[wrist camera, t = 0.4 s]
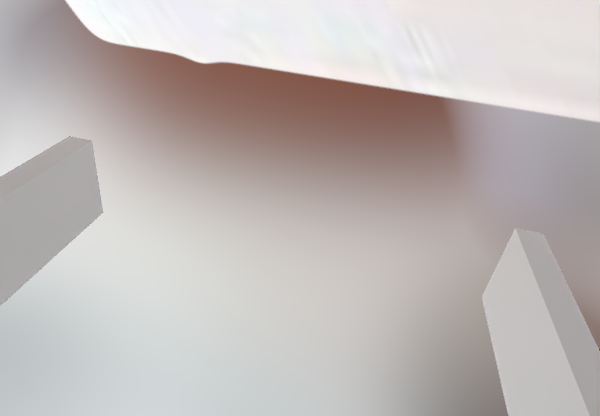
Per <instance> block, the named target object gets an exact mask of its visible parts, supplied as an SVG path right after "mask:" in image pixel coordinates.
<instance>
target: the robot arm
mask: <svg viewBox="0 0 600 416" xmlns="http://www.w3.org/2000/svg"><path fill="white" fill-rule="evenodd" d="M102 213H103V209H102V203H101V196H100V190H99V183H98V177H97V171H96V164H95V158H94V151H93V145H92V141H90V140H86V139H81V138H76V137H71V136H69V137H67V138H66V139H64V140H62V141H61V142H59V143H57V144H56V145H54V146H52V147H51V148H49V149H47V150H46V151H44V152H42V153H40V154H39V155H37V156H35V157H33V158H32V159H30V160H28V161H27V162H25V163H23V164H22V165H20V166H18V167H16V168H15V169H13V170H11V171H10V172H8V173H6V174H5V175H3V176H1V177H0V306H1V305H2V304H3V303H4V302H5V301H6V300H7V299H8V298H10V297H11V296H12V295H13V294H14V293H15V292H16V291H17V290H18V289H19V288H20V287H22V286H23V285H24V284H25V283H26V282H27V281H28V280H29V279H30V278H31V277H33V276H34V275H35V274H36V273H37V272H38V271H39V270H40V269H41V268H42V267H44V266H45V265H46V264H47V263H48V262H49V261H50V260H51V259H52V258H53V257H55V256H56V255H57V254H58V253H59V252H60V251H61V250H62V249H63V248H65V246H67V245H68V244H69V243H70V242H71V241H72V240H73V239H74V238H76V237H77V236H78V235H79V234H80V233H81V232H82V231H83V230H84V229H85V228H87V226H89V224H91V223H92V222H93V221H94V220H95V219H96V218H98V217H99V216H100V215H101V214H102ZM482 300H483V305H484V309H485V314H486V319H487V323H488V327H489V332H490V336H491V340H492V345H493V350H494V353H495V359H496V363H497V367H498V372H499V376H500V381H501V385H502V390H503V394H504V398H505V403H506V407H507V412H508V416H600V349H598V347H597V345H596V343H595V341H594V338H593V337H592V334H591V332H590V330H589V328H588V326H587V324H586V322H585V320H584V318H583V316H582V314H581V312H580V310H579V308H578V306H577V303H576V301H575V299H574V298H573V295H572V293H571V291H570V289H569V287H568V285H567V283H566V281H565V279H564V276H563V274H562V272H561V270H560V268H559V266H558V264H557V262H556V260H555V258H554V256H553V254H552V252H551V250H550V248H549V245H548V243H547V241H546V239H545V237H544V235H543V234H541V233H537V232H532V231H527V230H522V229H518V228H515V230H514V232H513V234H512V236H511V238H510V240H509V242H508V244H507V246H506V248H505V250H504V253H503V254H502V256H501V258H500V260H499V263H498V265H497V267H496V269H495V271H494V273H493V275H492V277H491V279H490V281H489V283H488V285H487V287H486V290H485V292H484V293H483V295H482Z"/></svg>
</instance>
